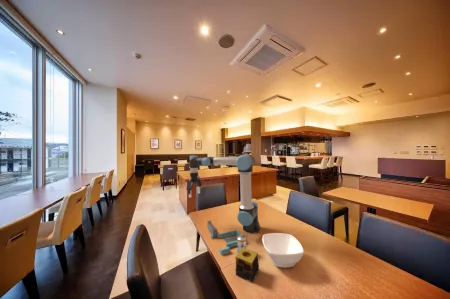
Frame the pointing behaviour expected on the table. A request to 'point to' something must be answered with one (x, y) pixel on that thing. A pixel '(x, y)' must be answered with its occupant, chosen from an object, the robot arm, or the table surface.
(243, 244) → the spigot
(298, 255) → the bowl
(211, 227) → the lock pin
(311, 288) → the table surface
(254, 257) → the candle
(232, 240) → the dock cradle
